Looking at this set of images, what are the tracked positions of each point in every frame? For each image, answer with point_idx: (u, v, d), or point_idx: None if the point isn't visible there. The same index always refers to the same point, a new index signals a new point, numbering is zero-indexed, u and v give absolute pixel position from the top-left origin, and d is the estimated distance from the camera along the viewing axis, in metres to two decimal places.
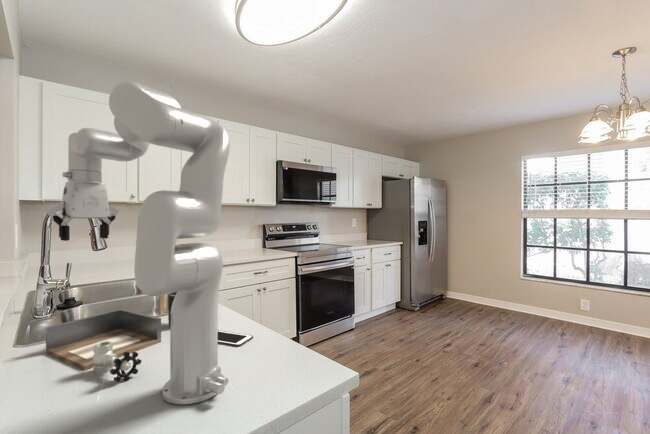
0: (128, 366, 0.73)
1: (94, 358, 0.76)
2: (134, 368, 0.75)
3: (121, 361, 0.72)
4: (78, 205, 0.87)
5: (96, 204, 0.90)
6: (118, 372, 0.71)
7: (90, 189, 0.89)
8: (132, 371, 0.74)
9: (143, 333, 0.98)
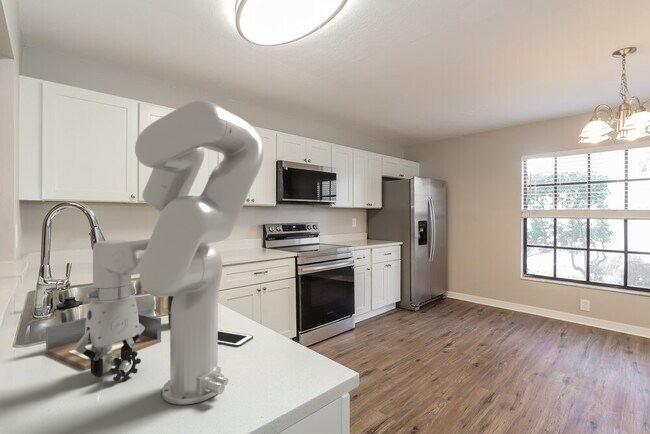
0: (127, 365, 0.73)
1: None
2: (133, 367, 0.75)
3: (120, 360, 0.72)
4: (105, 331, 0.72)
5: (125, 323, 0.76)
6: (117, 371, 0.72)
7: (119, 307, 0.75)
8: (131, 370, 0.74)
9: (143, 333, 0.98)
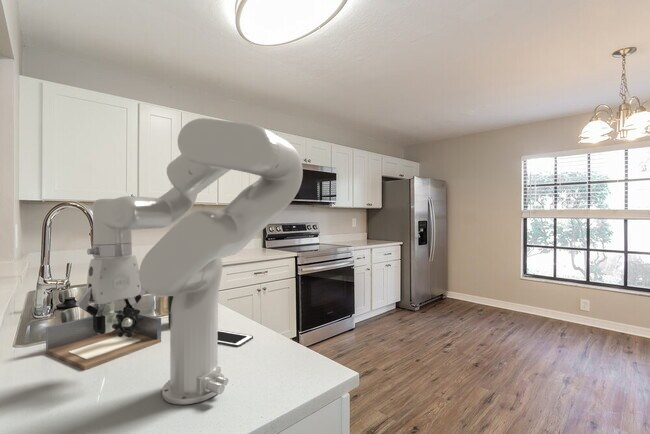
0: (130, 322, 0.73)
1: None
2: (136, 325, 0.74)
3: (123, 316, 0.72)
4: (107, 287, 0.72)
5: (127, 282, 0.76)
6: (120, 327, 0.71)
7: (120, 265, 0.74)
8: (134, 328, 0.74)
9: (143, 333, 0.98)
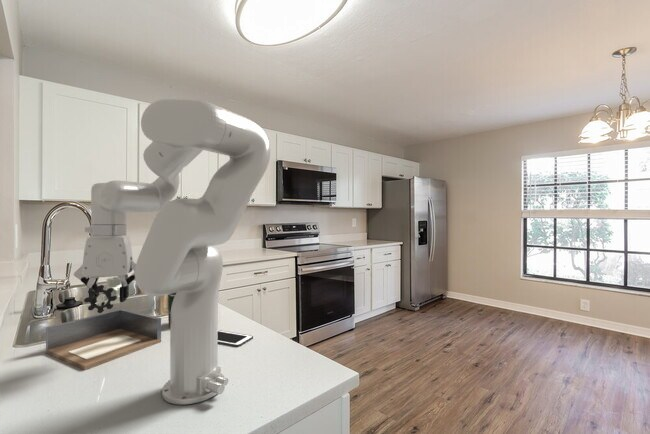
0: (101, 299, 0.77)
1: None
2: (107, 303, 0.78)
3: (93, 292, 0.77)
4: (91, 263, 0.79)
5: (111, 261, 0.80)
6: (90, 301, 0.77)
7: (104, 244, 0.80)
8: (105, 305, 0.78)
9: (143, 333, 0.98)
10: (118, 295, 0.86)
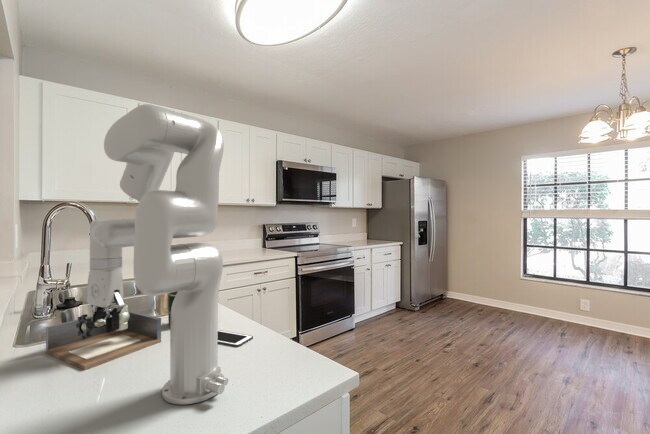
0: (82, 327, 0.84)
1: None
2: (85, 332, 0.84)
3: (79, 320, 0.85)
4: (89, 292, 0.89)
5: (98, 292, 0.86)
6: (78, 327, 0.86)
7: (95, 276, 0.87)
8: (84, 334, 0.84)
9: (143, 333, 0.98)
10: None
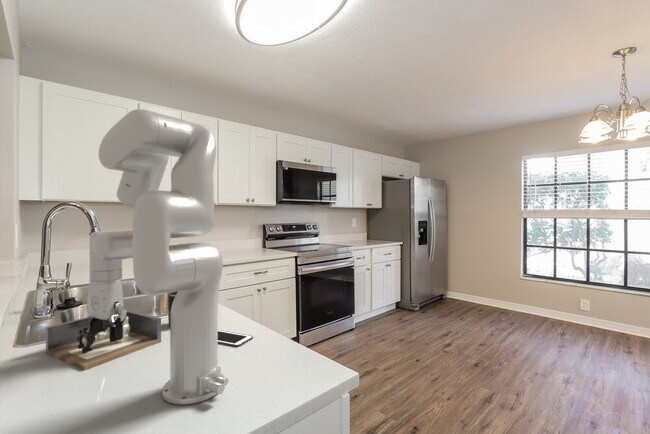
0: (83, 341, 0.84)
1: None
2: (86, 346, 0.84)
3: (80, 333, 0.85)
4: (89, 304, 0.89)
5: (98, 305, 0.86)
6: (79, 341, 0.85)
7: (95, 288, 0.87)
8: (85, 347, 0.84)
9: (143, 333, 0.98)
10: None
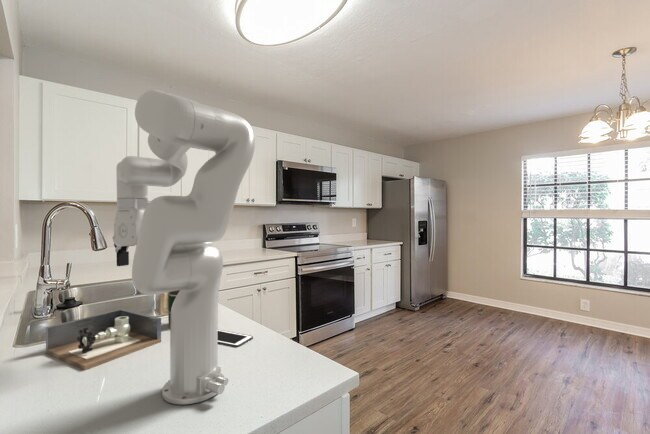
0: (83, 341, 0.84)
1: None
2: (86, 346, 0.84)
3: (80, 333, 0.85)
4: (116, 233, 0.90)
5: (126, 231, 0.88)
6: (79, 341, 0.85)
7: (122, 216, 0.89)
8: (85, 347, 0.84)
9: (143, 333, 0.98)
10: (119, 335, 0.91)
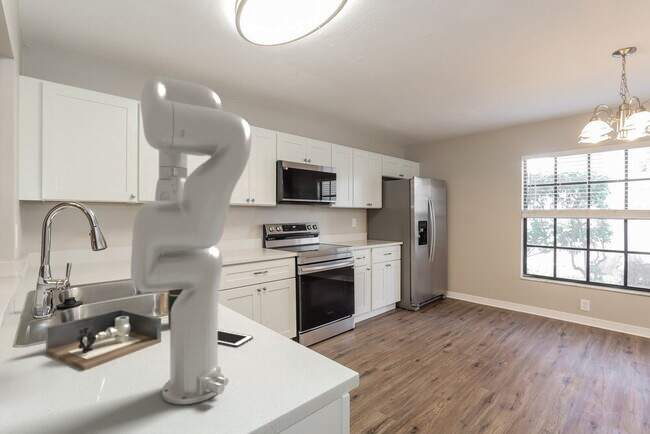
0: (84, 341, 0.84)
1: None
2: (86, 346, 0.84)
3: (80, 333, 0.85)
4: (158, 200, 0.93)
5: (167, 199, 0.91)
6: (80, 341, 0.85)
7: (164, 184, 0.92)
8: (86, 347, 0.84)
9: (143, 333, 0.98)
10: (120, 335, 0.91)
